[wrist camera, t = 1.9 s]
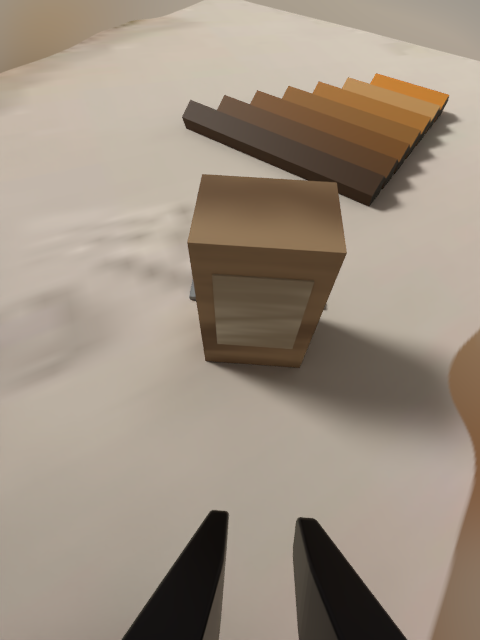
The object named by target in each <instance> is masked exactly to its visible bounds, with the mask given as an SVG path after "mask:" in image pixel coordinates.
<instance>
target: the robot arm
mask: <svg viewBox="0 0 480 640" xmlns="http://www.w3.org/2000/svg"><path fill="white" fill-rule="evenodd" d="M228 520H229V514H228V512H227V511H219V510H212V511H210V512H209V514H208V515H207V517H206V518H205V520H204V521H203V522H202V524H201V525H200V527H199V528H198V530H197V531H196V533H195V534H194V536H193V537H192V538H191V540H190V541H189V543H188V544H187V546H186V547H185V549H184V550H183V551H182V553H181V554H180V556H179V557H178V559H177V560H176V562H175V563H174V564H173V566H172V567H171V569H170V570H169V572H168V573H167V575H166V576H165V578H164V579H163V580H162V582H161V583H160V585H159V586H158V588H157V589H156V591H155V592H154V593H153V595H152V596H151V598H150V599H149V601H148V602H147V604H146V605H145V606H144V608H143V609H142V611H141V612H140V614H139V615H138V617H137V618H136V620H135V621H134V622H133V624H132V625H131V627H130V628H129V630H128V631H127V633H126V634H125V635H124V637H123V638H122V640H219V632H220V623H221V611H222V599H223V587H224V574H225V562H226V549H227V535H228ZM293 565H294V580H295V594H296V608H297V622H298V634H299V640H407V639H406V637H405V636H404V635H403V633H402V632H401V631H400V629H399V628H398V627H397V626H396V624H395V623H394V622H393V620H392V619H391V618H390V616H389V615H388V614H387V612H386V611H385V610H384V608H383V607H382V606H381V604H380V603H379V602H378V601H377V599H376V598H375V597H374V595H373V594H372V593H371V591H370V590H369V589H368V587H367V586H366V585H365V583H364V582H363V581H362V579H361V578H360V577H359V575H358V574H357V573H356V572H355V570H354V569H353V568H352V566H351V565H350V564H349V562H348V561H347V560H346V558H345V557H344V556H343V554H342V553H341V552H340V550H339V549H338V548H337V546H336V545H335V544H334V543H333V541H332V540H331V539H330V537H329V536H328V535H327V533H326V532H325V531H324V529H323V528H322V527H321V525H320V524H319V523H318V521H317V520H315V519H313V518H303V517H299V518H298V519H297V521H296V527H295V536H294V544H293Z"/></svg>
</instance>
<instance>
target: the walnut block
mask: <svg viewBox="0 0 480 640" xmlns="http://www.w3.org/2000/svg"><path fill="white" fill-rule="evenodd" d="M187 243H188V249H189V256H190V263H191V269H192V276H193V282H194V289H195V295H196V302H197V308H198V315H199V321H200V328H201V334H202V341H203V347H204V354H205V361H213V362H227V363H241V364H255V365H268V366H282V367H296V368H300V365H301V363H302V361H303V358H304V356H305V353H306V351H307V348H308V346H309V343H310V341H311V339H312V336H313V334H314V331H315V329H316V326H317V324H318V322H319V319H320V317H321V314H322V312H323V309H324V307H325V305H326V302H327V300H328V297H329V295H330V292H331V290H332V288H333V285H334V283H335V280H336V278H337V275H338V273H339V271H340V268H341V266H342V263H343V261H344V258H345V256H346V253H347V252H346V245H345V238H344V230H343V223H342V216H341V209H340V202H339V195H338V188H337V183H336V182H320V181H304V180H287V179H271V178H255V177H238V176H222V175H206V174H202V178H201V183H200V187H199V192H198V196H197V201H196V206H195V210H194V215H193V219H192V224H191V228H190V233H189V238H188V242H187Z"/></svg>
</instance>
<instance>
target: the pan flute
mask: <svg viewBox="0 0 480 640" xmlns="http://www.w3.org/2000/svg"><path fill="white" fill-rule="evenodd" d="M448 98H449V95H448V94H444V93H441V92H438V91H434V90H431V89H427V88H424V87H421V86H417V85H414V84H411V83H407V82H404V81H400V80H397V79H394V78H390V77H387V76H384V75H380V74H377V73H376V74H375V76H374V78H373V80H372V81H371V83H370V84H368V83H365V82H362V81H358V80H355V79H352V78H349V77H348V78H347V80H346V82H345V84H344V86H343V87H342V89H341V88H338V87H335V86H331V85H328V84H325V83H322V82H318V84H317V86H316V88H315V90H314V92H313V94H312V93H309V92H306V91H303V90H300V89H297V88H294V87H291V86H288V88H287V90H286V92H285V94H284V96H283V98H282V99H280V98H278V97H275V96H272V95H269V94H266V93H263V92H261V91H258V90H257V92H256V94H255V96H254V98H253V100H252V102H251V104H247V103H245V102H242V101H239V100H237V99H234V98H231V97H228V96H226V95H224V97H223V99H222V101H221V103H220V105H219V107H218V109H217V110H215V109H212V108H210V107H207V106H205V105H202V104H200V103H197V102H194V101H192V100H190V102H189V104H188V106H187V108H186V110H185V112H184V114H183V116H182V118H183V121H184V123H185V126H186V128H187V129H189V130H192V131H194V132H196V133H199V134H201V135H203V136H206V137H208V138H210V139H213V140H215V141H217V142H220V143H222V144H224V145H227V146H229V147H231V148H234V149H236V150H238V151H241V152H243V153H245V154H248V155H250V156H252V157H255V158H257V159H259V160H262V161H264V162H266V163H269V164H271V165H273V166H276V167H278V168H280V169H283V170H285V171H287V172H290V173H292V174H294V175H297V176H299V177H301V178H304V179H306V180H308V181H320V182H336V183H337V188H338V193H339V194H341V195H343V196H346V197H348V198H350V199H353V200H355V201H357V202H360V203H362V204H364V205H367V206H370V204H371V203H372V202H373V201H374V199H375V198H376V197H377V195H378V194H379V192H380V190H381V189H383V188H384V186H385V185H386V184H387V183H388V181H389V180H390V179H391V177H392V175H393V173H394V174H395V172H396V171H397V170H398V169H399V167H400V166H401V165H402V163H403V161H404V159H406V158H407V157H408V156H409V154H410V153H411V152H412V151H413V149H414V147H415V146H416V145H417V144H418V143H419V142H420V140H421V139H422V138H423V136H424V134H426V133H427V131H428V130H429V129H430V128H431V126H432V125H433V123H434V122H435V121H436V120H437V119H438V117H439V116H440V115H441V113H442V111H443V109H444V107H445V105H446V103H447V102H448Z"/></svg>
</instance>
